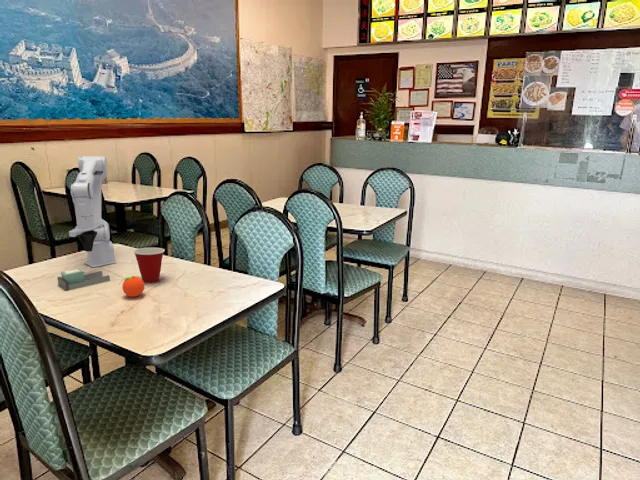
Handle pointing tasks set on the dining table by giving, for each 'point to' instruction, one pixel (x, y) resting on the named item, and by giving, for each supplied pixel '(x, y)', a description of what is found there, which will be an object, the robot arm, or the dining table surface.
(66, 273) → the module
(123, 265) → the dining table surface
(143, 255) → the plastic cup
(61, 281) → the rail
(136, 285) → the clementine
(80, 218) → the robot arm
